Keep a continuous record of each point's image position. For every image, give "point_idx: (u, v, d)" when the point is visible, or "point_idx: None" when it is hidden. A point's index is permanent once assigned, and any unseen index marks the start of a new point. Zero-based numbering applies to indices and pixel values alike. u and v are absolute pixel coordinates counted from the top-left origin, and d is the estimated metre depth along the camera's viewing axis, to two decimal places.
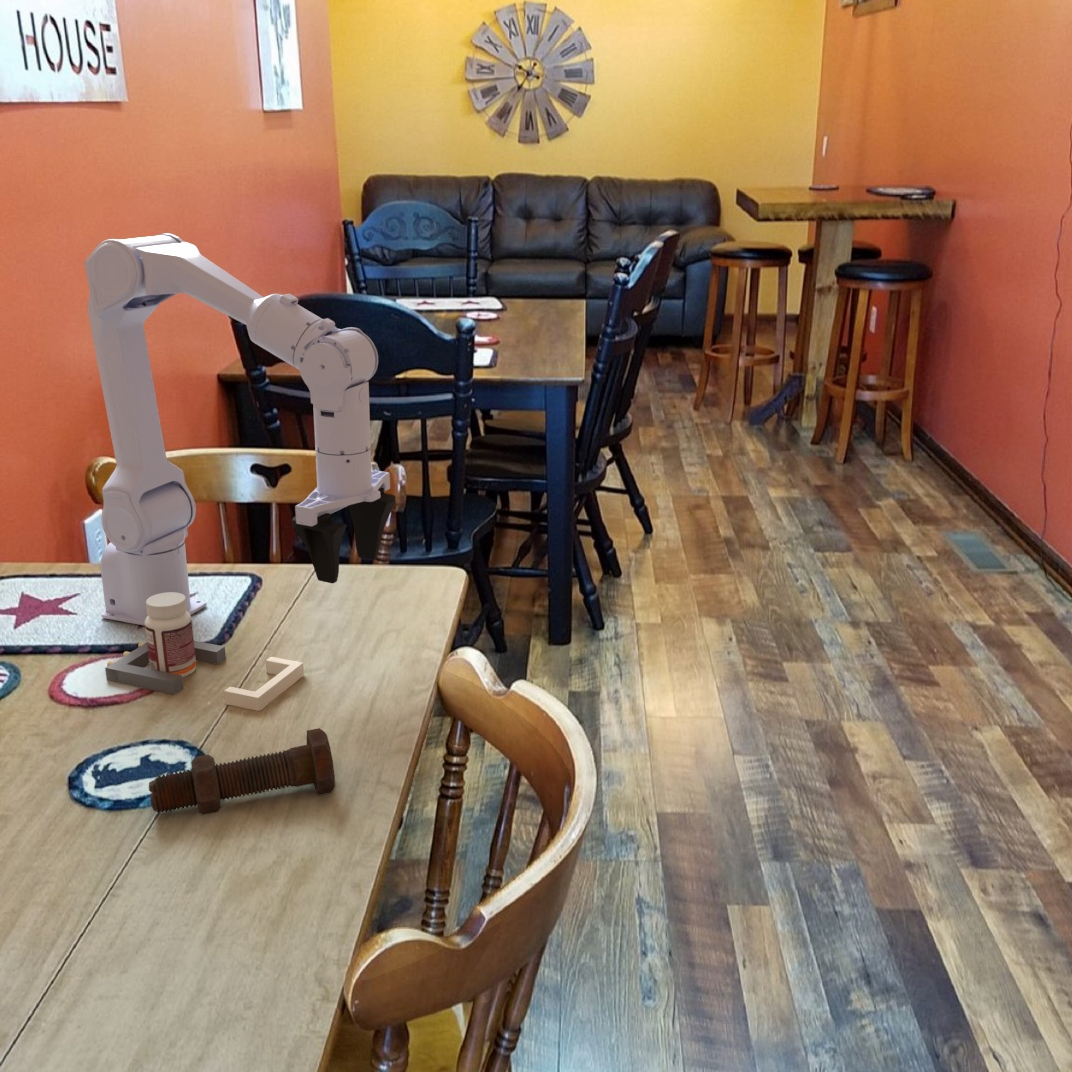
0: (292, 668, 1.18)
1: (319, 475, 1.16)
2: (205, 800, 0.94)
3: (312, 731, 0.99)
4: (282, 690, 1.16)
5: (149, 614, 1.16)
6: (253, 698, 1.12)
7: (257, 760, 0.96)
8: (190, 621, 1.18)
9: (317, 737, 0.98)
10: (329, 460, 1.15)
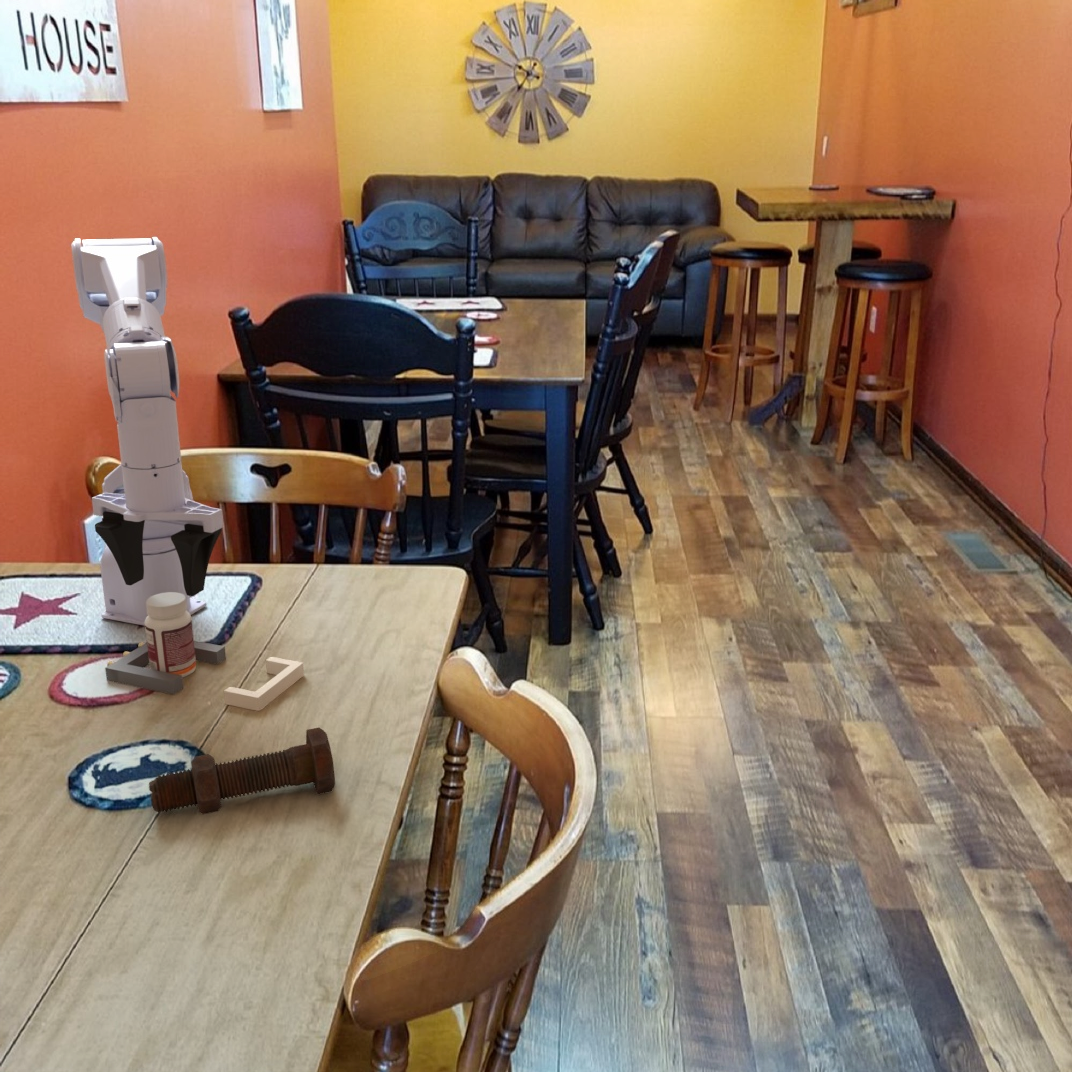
0: (292, 668, 1.18)
1: None
2: (205, 800, 0.94)
3: (312, 730, 0.99)
4: (282, 690, 1.16)
5: (149, 614, 1.16)
6: (253, 698, 1.12)
7: (257, 759, 0.97)
8: (190, 621, 1.18)
9: (316, 736, 0.98)
10: None
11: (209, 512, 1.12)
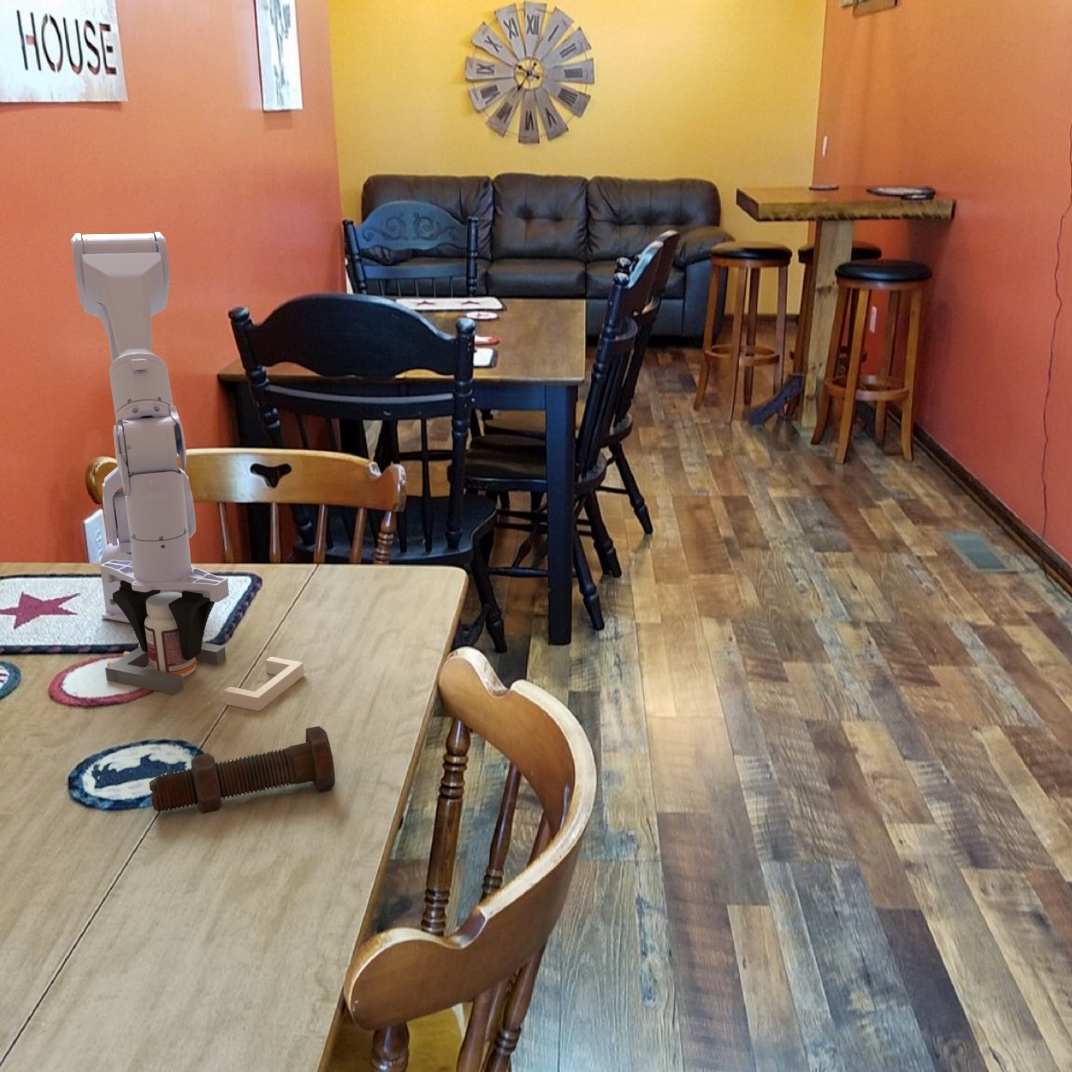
0: (292, 668, 1.18)
1: None
2: (206, 799, 0.94)
3: (311, 729, 0.99)
4: (282, 690, 1.16)
5: (149, 614, 1.16)
6: (253, 698, 1.12)
7: (257, 758, 0.97)
8: None
9: (316, 735, 0.98)
10: None
11: (215, 582, 1.14)
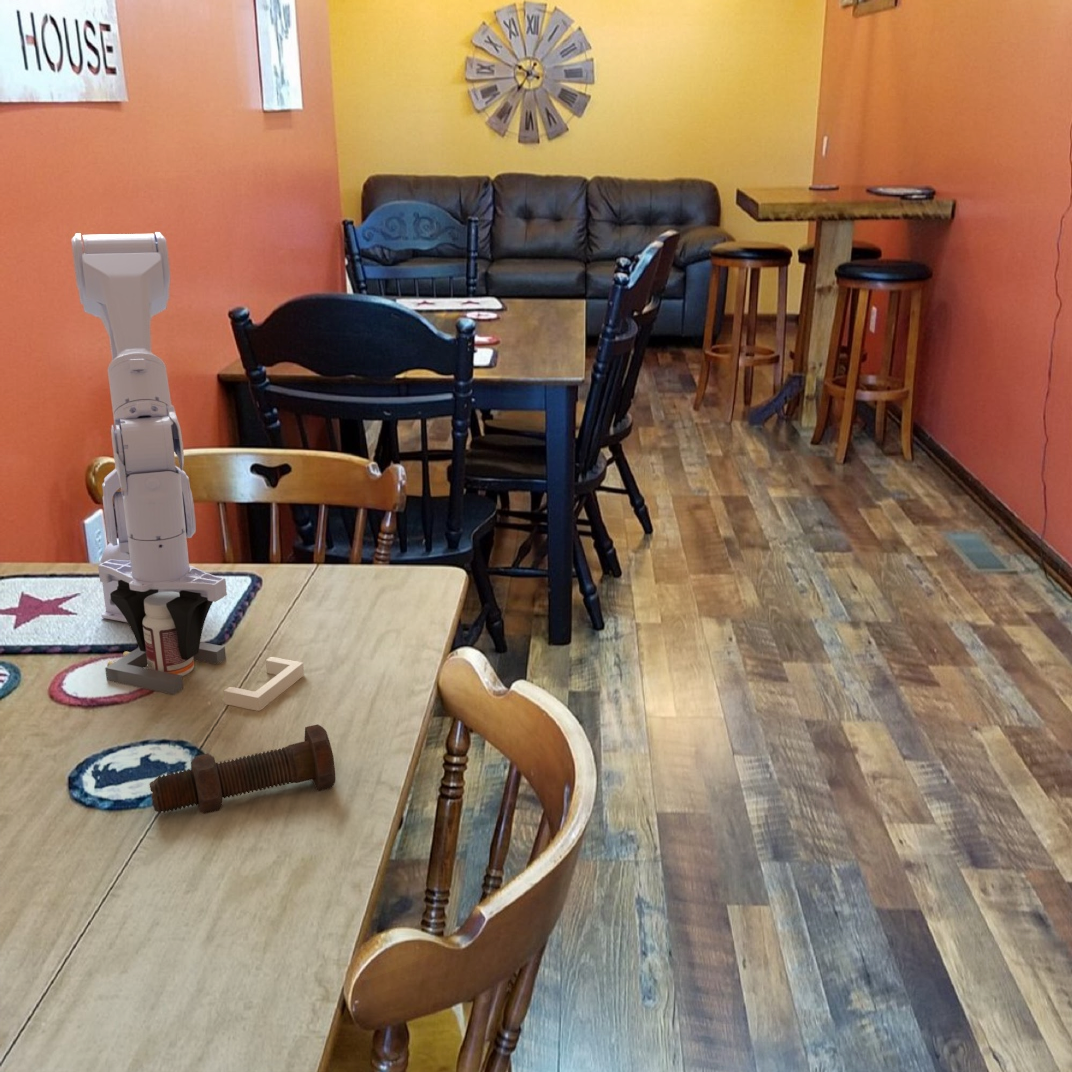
0: (292, 668, 1.18)
1: None
2: (207, 799, 0.94)
3: (311, 727, 0.99)
4: (282, 690, 1.16)
5: (147, 613, 1.16)
6: (253, 698, 1.12)
7: (257, 758, 0.97)
8: None
9: (316, 733, 0.99)
10: None
11: (213, 581, 1.14)
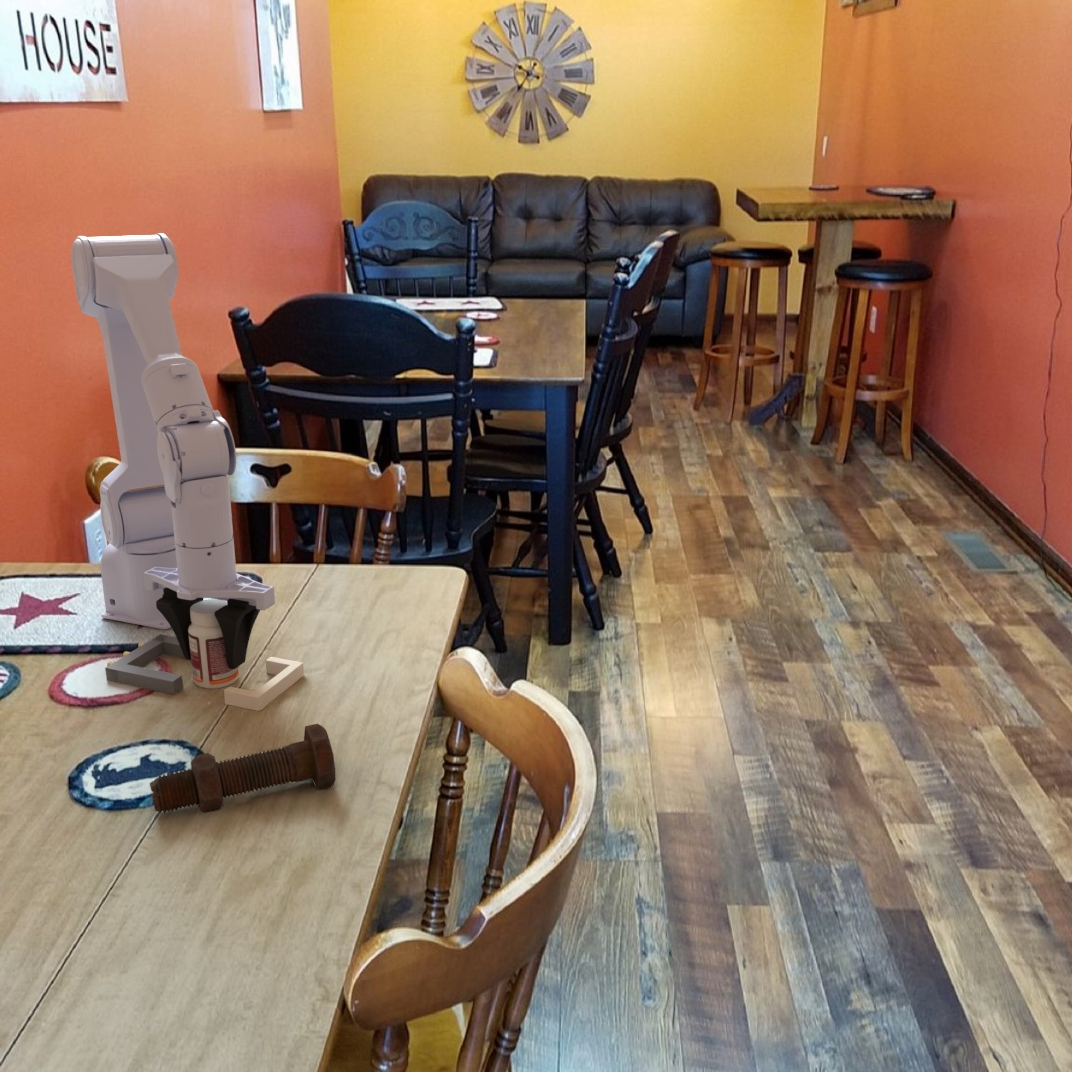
0: (292, 668, 1.18)
1: None
2: (208, 798, 0.94)
3: (310, 727, 1.00)
4: (282, 690, 1.16)
5: (193, 622, 1.15)
6: (253, 698, 1.12)
7: (257, 757, 0.97)
8: None
9: (316, 732, 0.99)
10: None
11: (262, 590, 1.12)
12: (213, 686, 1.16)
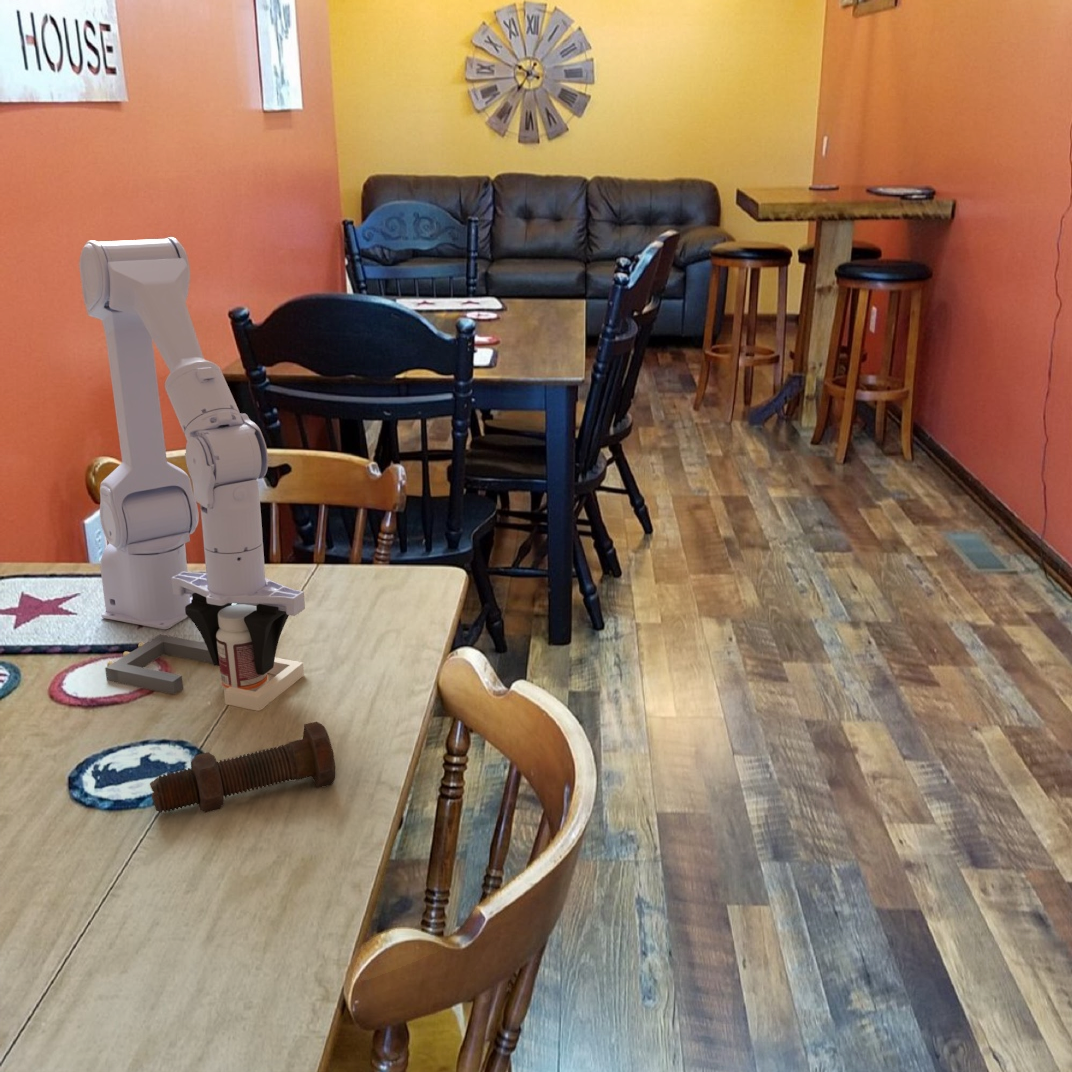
0: (292, 668, 1.18)
1: None
2: (209, 797, 0.94)
3: (310, 725, 1.00)
4: (282, 690, 1.16)
5: (221, 627, 1.13)
6: (253, 698, 1.12)
7: (257, 755, 0.97)
8: None
9: (315, 730, 0.99)
10: None
11: (292, 595, 1.11)
12: None
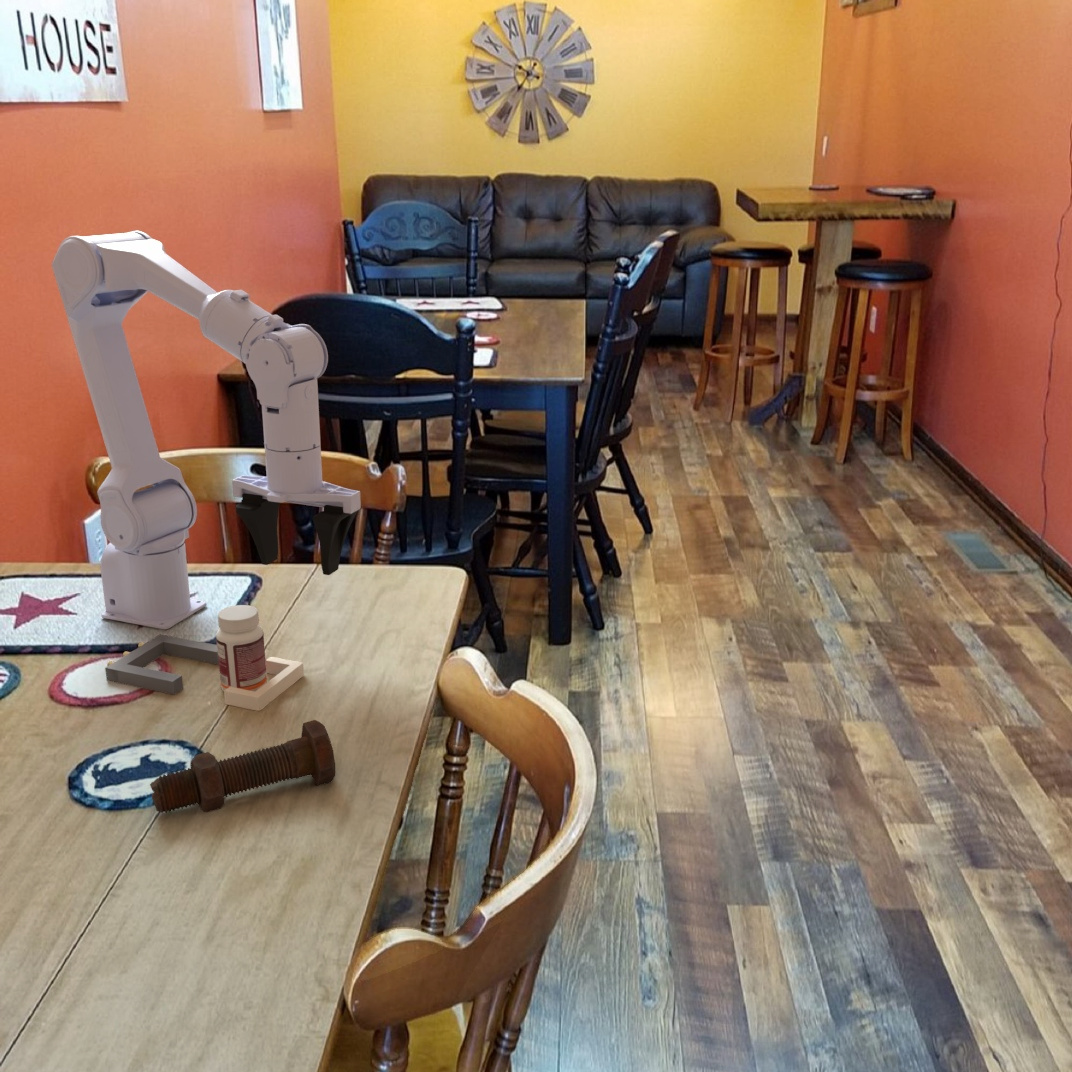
0: (292, 668, 1.18)
1: None
2: (210, 797, 0.94)
3: (308, 723, 1.00)
4: (282, 690, 1.16)
5: (221, 627, 1.13)
6: (253, 698, 1.12)
7: (257, 754, 0.97)
8: (262, 635, 1.15)
9: (315, 728, 0.99)
10: None
11: (348, 494, 1.16)
12: None
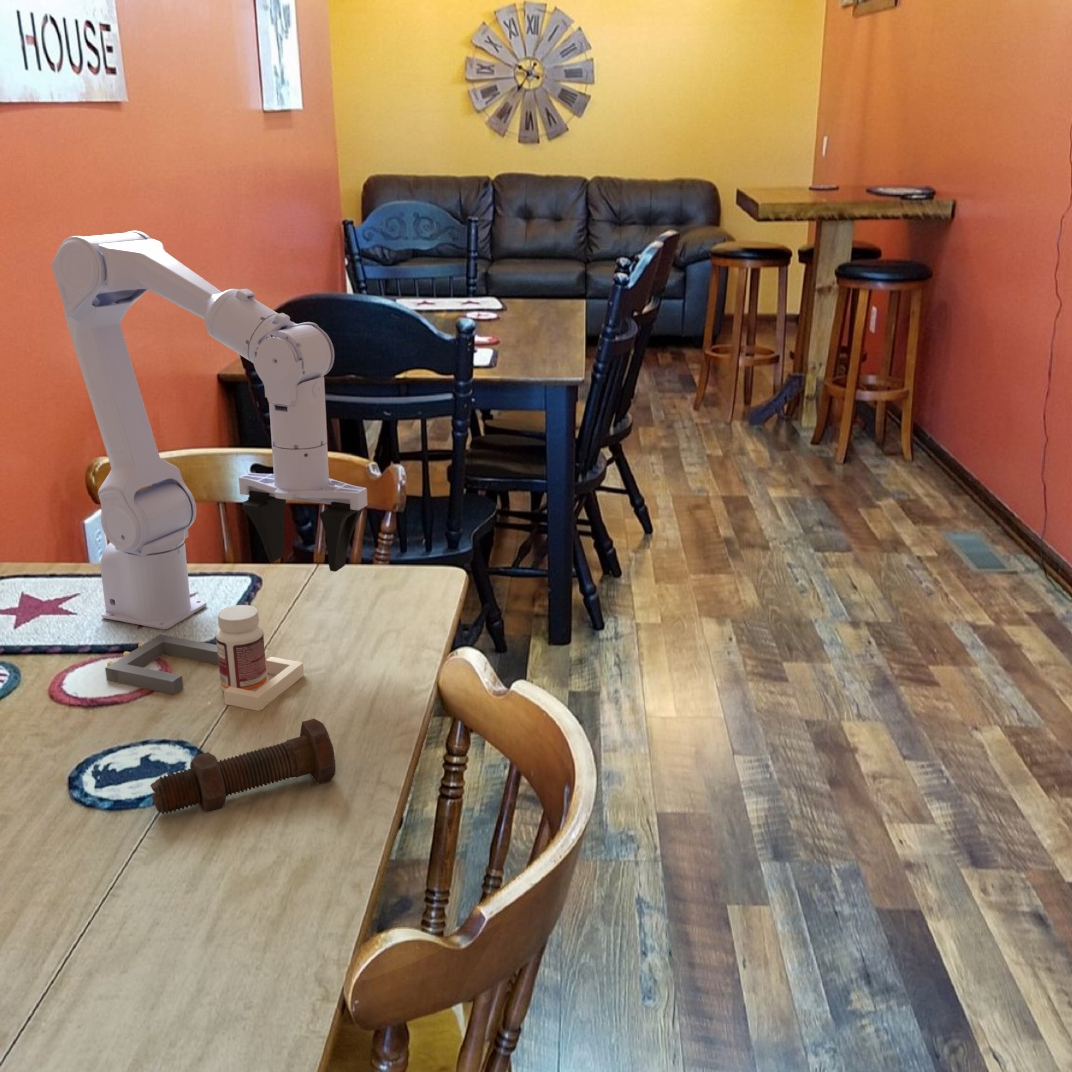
0: (292, 668, 1.18)
1: None
2: (212, 797, 0.94)
3: (308, 722, 1.00)
4: (282, 690, 1.16)
5: (221, 627, 1.13)
6: (253, 698, 1.12)
7: (258, 754, 0.97)
8: (262, 635, 1.15)
9: (314, 727, 1.00)
10: None
11: (355, 491, 1.17)
12: None
